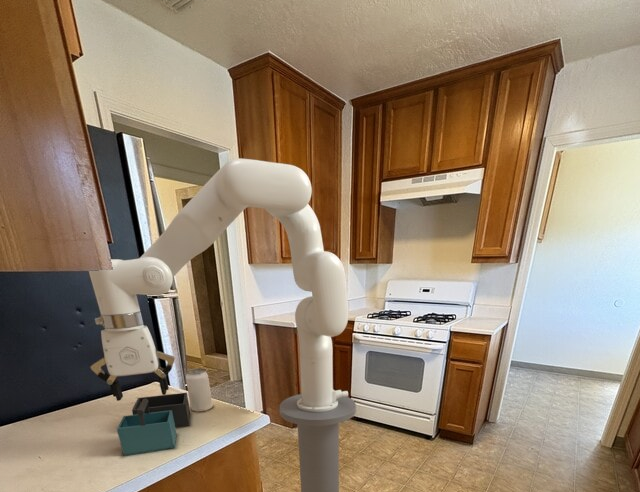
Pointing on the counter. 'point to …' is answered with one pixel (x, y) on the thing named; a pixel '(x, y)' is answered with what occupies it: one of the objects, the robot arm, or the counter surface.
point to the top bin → (147, 431)
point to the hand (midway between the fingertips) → (142, 395)
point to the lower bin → (168, 407)
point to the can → (199, 390)
